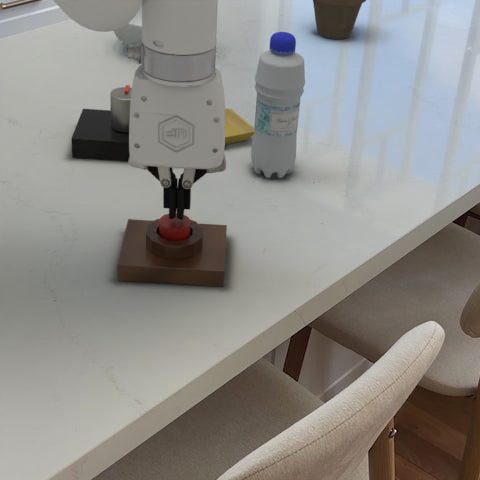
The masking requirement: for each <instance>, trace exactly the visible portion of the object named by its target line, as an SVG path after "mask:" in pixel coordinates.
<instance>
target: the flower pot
mask: <svg viewBox="0 0 480 480" xmlns="http://www.w3.org/2000/svg"><path fill="white" fill-rule="evenodd" d="M366 1H367V0H312V3H313V11H314V18H315V19H314V20H315V25H316V31H317V34H318V35H320V36H321V37H323V38H326V39H331V40H345V39H348V38H349V37H350V36H351V34H352V32H353V30H354V26H355V24H356V22H357V18H358V16H359V12H360V10H361V8H362V5H363V4H364V3H365V2H366Z"/></svg>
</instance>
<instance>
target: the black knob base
mask: <svg viewBox="0 0 480 480" xmlns="http://www.w3.org/2000/svg"><path fill="white" fill-rule="evenodd" d="M70 141H71V157H72V158H73V159H84V160H101V161H114V162H118V161H119V162H128V161H129V157H130V152H129V132H119V131H116V130H114V129H113V128H112V127H111V109H109V110H107V109H95V108H94V109H93V108H82V110H81V113H80V115H79V118H78V121H77V123H76V126H75V128H74V131H73V134H72V136H71V139H70Z"/></svg>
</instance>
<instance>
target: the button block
mask: <svg viewBox="0 0 480 480" xmlns="http://www.w3.org/2000/svg"><path fill="white" fill-rule="evenodd" d="M159 220H160V218H156V219H154V220H149V219H133V218H131V219H130V218H128V219H127V223H126V226H125V232H124V235H123V239H122V245H121V248H120V253H119V257H118V262H117V281H118V282H119V281H120V282H134V283H153V284H155V283H156V284H169V285H170V284H171V285H189V286H206V287H225V285H224V284H225V269H226V252H227V251H226V249H227V248H226V247H227V232H228V225H227V224H213V223H199V222H197V221H195V220H192V219H190V221H191V227H190V236H189V238H188V239H185V240H180V241H170V240H166V239H164V238H161V237H160V235H159Z"/></svg>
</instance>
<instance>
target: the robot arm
mask: <svg viewBox="0 0 480 480" xmlns="http://www.w3.org/2000/svg"><path fill="white" fill-rule="evenodd" d="M52 1H53V2H54V3H55V4H56V5H57V6H58V7H59V8H60V9H61V10H62V12H64V14H65V15H66V16H68V18H70V19H71V20H72V21H74V22H75V23H76V24H78V25H79V26H81V27H82V28H86V29H88V30H91V31H94V32H99V33H100V32H101V33H107V32H114V30H117V29H120V28H122V27H123V26H125V25H127V24H128V23H129V22H130V21H131V20H132V19H133V18H134V17H135V16H136V14H137V13H138V11H139V9H140V6H141V7H142V42H140V43H139V44H136V45H135V46H132V45H128V46H127V59H132V60H135V61H138V64H139V66H138V67H137V68H136V70H135V71H134V75H133V79H132V85H131V88H132V91H131V102H130V122H129V152H130V157H129V161H127V163H128V165H129V166H131V167H133V168H136V169H140V170H145V171H148V172H149V173H150V174H151V175H152V176H153V177H154V178H155V179H156V180H157V181H158V182H160V183H159V184H160V186H161V187H162V188H163V189H162V190H163V193H162V195H163V196H162V198H163V200H162V201H163V203H162V205H163V206H162V207H163V209H168V214H169V219H174V218H176V213H177V218H178V219H181V220H183V216H184V215H185V210H188V211H189V210H191V202H192V201H191V199H192V188H193V186H194V185H195V184H196V183H197V181H199V180H200V179H202V178H203V177H204V176H206V174H216V173H220V172H224V171H226V168H227V159H226V155H225V149H226V148H225V146H226V145H225V109H226V100H225V99H226V98H225V90H224V89H225V88H224V83H223V78H222V73H221V71H220V70H219V69H218V68H216V59H217V57H216V56H217V55H216V54H217V31H218V28H217V27H218V7H219V6H218V5H219V0H52ZM174 169H183V172H182V173H181V174H180V176H179V178H178V177H177V175H176V174H175V173H174Z"/></svg>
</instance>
